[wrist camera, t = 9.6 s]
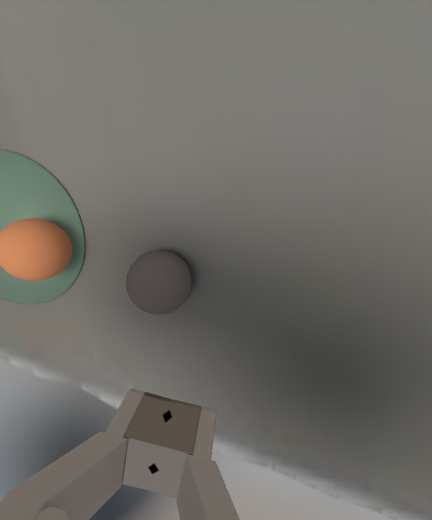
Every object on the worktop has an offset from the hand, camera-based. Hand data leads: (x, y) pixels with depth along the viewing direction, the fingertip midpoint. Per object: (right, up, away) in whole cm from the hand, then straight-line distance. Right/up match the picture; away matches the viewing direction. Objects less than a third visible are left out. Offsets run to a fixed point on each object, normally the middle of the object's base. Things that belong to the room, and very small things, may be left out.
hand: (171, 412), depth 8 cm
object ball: (-13, +6, +11) cm, 18 cm away
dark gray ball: (-3, +3, +11) cm, 12 cm away
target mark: (-17, +8, +14) cm, 23 cm away
